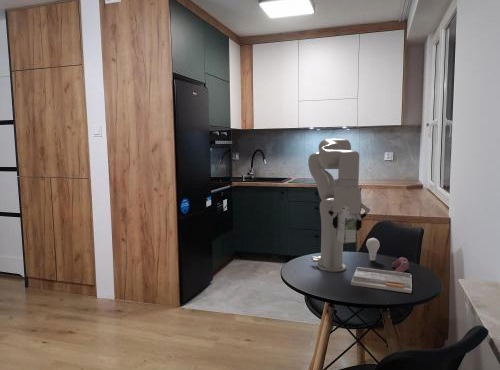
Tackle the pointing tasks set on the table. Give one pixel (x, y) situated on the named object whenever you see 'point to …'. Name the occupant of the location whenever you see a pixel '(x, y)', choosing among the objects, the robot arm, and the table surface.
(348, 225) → the syrup box
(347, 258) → the table surface
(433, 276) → the table surface
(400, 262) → the video game controller
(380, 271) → the metal tray
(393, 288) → the mounting plate
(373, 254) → the lightbulb
